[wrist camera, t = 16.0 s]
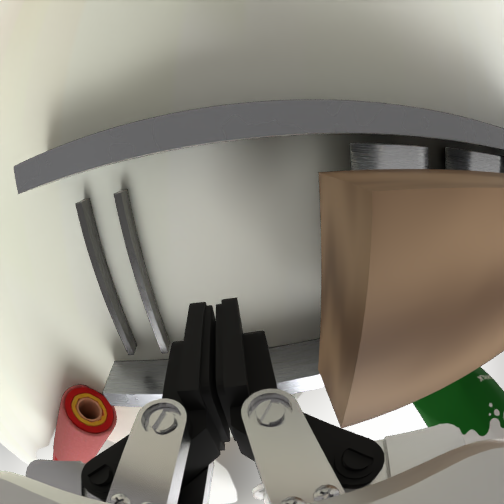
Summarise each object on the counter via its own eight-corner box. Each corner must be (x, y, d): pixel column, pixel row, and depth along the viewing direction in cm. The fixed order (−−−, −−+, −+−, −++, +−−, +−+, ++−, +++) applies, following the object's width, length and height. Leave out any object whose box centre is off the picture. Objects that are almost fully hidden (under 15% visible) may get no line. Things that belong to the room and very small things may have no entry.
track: (542, 271, 21) (564, 287, 16) (124, 379, 18) (109, 430, 13) (559, 150, 14) (585, 158, 9) (45, 149, 11) (-12, 159, 7)
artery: (75, 480, 30) (71, 498, 25) (53, 469, 29) (48, 487, 24) (122, 400, 19) (110, 445, 15) (72, 374, 18) (53, 416, 13)
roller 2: (451, 298, 18) (479, 323, 15) (417, 309, 18) (445, 339, 14) (469, 150, 14) (510, 158, 10) (433, 146, 13) (478, 153, 10)
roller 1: (386, 318, 18) (413, 353, 14) (336, 330, 18) (357, 370, 14) (398, 143, 13) (443, 148, 10) (337, 143, 13) (375, 145, 9)
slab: (515, 294, 14) (544, 317, 11) (318, 369, 13) (341, 428, 10) (537, 177, 11) (575, 191, 7) (318, 172, 10) (372, 191, 6)
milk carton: (479, 355, 23) (557, 454, 5) (437, 405, 26) (497, 506, 8) (452, 349, 21) (547, 479, 3) (402, 408, 24) (467, 536, 6)
